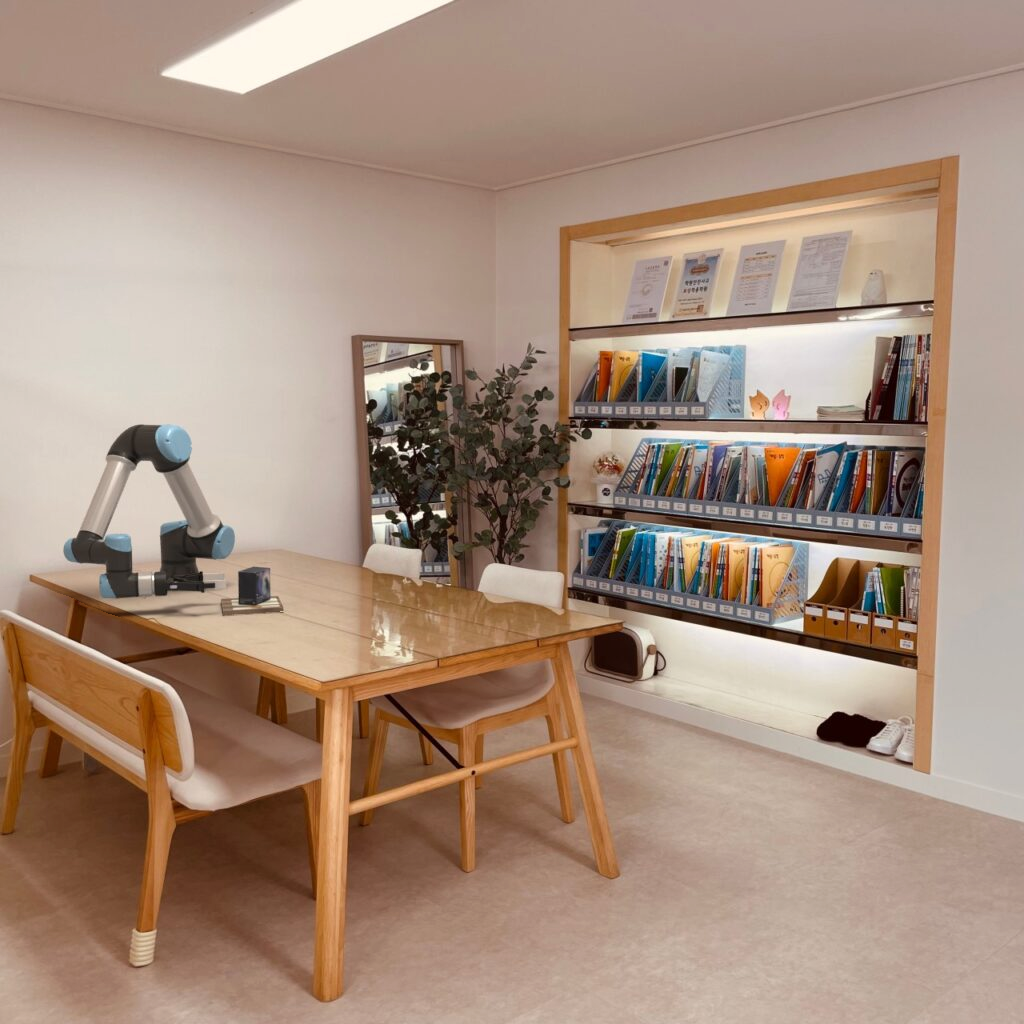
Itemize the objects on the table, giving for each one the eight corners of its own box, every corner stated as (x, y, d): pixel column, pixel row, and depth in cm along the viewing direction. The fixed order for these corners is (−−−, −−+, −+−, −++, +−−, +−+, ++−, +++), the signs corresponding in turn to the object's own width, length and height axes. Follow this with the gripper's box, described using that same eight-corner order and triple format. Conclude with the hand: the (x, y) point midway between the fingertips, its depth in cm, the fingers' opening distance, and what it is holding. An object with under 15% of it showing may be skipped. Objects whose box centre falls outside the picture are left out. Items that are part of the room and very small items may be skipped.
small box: (256, 605, 325) (256, 572, 324) (237, 604, 326) (236, 571, 325) (272, 599, 335) (271, 566, 334) (253, 598, 337) (252, 566, 336)
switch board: (221, 603, 338) (220, 597, 337) (278, 600, 343) (278, 594, 343) (223, 615, 319) (223, 609, 318) (283, 612, 324) (283, 606, 324)
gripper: (154, 589, 333) (224, 585, 340) (153, 603, 310) (227, 599, 316) (154, 565, 333) (223, 562, 339) (152, 578, 309) (226, 575, 315)
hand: (225, 580), depth 328 cm, fingers open, 13 cm apart
